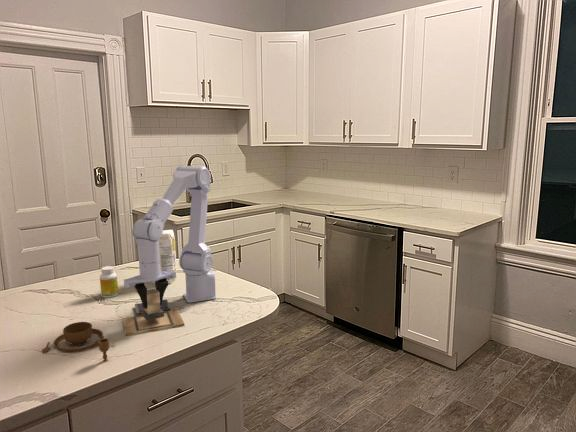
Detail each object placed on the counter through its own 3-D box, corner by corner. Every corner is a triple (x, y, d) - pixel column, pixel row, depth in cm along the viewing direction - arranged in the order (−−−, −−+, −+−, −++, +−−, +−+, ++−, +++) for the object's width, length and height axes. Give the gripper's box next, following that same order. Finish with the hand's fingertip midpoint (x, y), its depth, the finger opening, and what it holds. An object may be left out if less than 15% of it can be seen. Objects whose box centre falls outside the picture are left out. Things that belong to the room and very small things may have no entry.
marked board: (177, 311, 139) (177, 308, 139) (184, 325, 129) (184, 323, 129) (123, 320, 133) (123, 317, 132) (125, 335, 123) (125, 333, 122)
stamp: (158, 310, 134) (156, 287, 132) (164, 316, 130) (162, 292, 128) (141, 314, 131) (139, 290, 129) (147, 320, 127) (145, 295, 125)
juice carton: (172, 284, 162) (170, 233, 158) (149, 284, 162) (146, 233, 158) (178, 277, 169) (175, 229, 166) (155, 277, 169) (152, 228, 166)
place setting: (115, 329, 128) (114, 310, 126) (114, 364, 109) (112, 341, 108) (47, 339, 122) (44, 319, 121) (33, 377, 103) (30, 354, 102)
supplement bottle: (112, 298, 149) (110, 270, 147) (98, 297, 150) (95, 269, 148) (121, 292, 154) (119, 265, 152) (107, 291, 155) (105, 264, 153)
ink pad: (167, 302, 146) (166, 298, 146) (170, 310, 139) (170, 307, 139) (135, 307, 142) (134, 303, 142) (137, 316, 135) (136, 312, 135)
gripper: (168, 253, 134) (171, 296, 137) (119, 261, 126) (122, 306, 129) (177, 259, 129) (180, 303, 131) (126, 268, 120) (130, 315, 123)
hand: (152, 305), depth 130 cm, fingers closed on stamp, 4 cm apart
